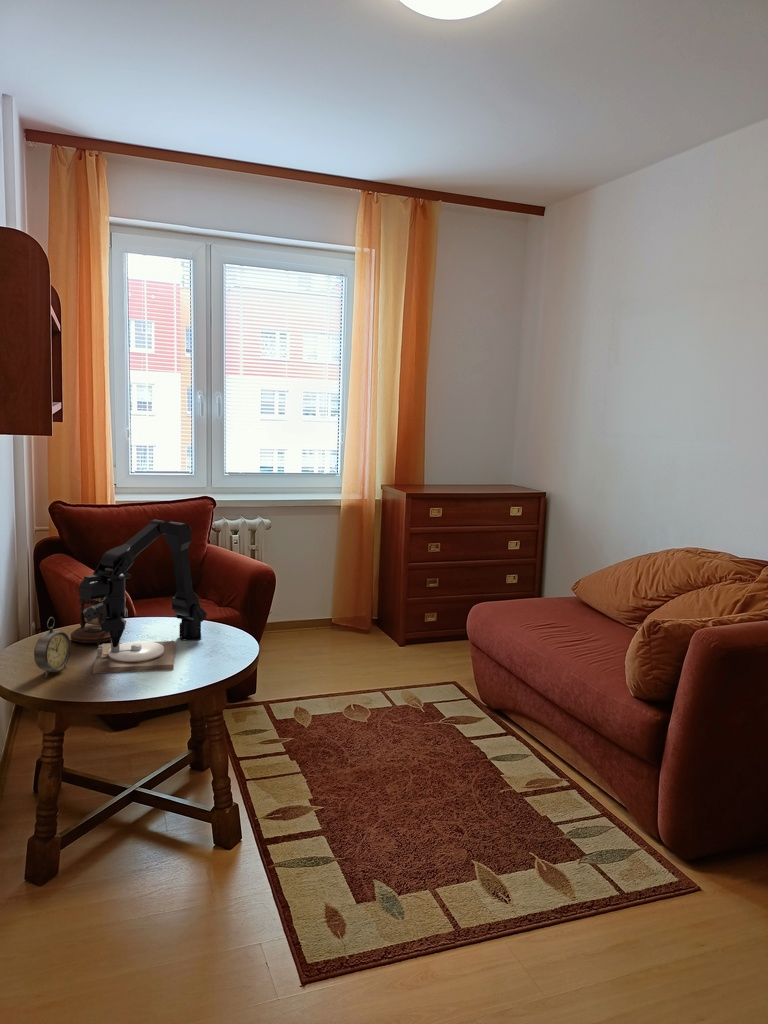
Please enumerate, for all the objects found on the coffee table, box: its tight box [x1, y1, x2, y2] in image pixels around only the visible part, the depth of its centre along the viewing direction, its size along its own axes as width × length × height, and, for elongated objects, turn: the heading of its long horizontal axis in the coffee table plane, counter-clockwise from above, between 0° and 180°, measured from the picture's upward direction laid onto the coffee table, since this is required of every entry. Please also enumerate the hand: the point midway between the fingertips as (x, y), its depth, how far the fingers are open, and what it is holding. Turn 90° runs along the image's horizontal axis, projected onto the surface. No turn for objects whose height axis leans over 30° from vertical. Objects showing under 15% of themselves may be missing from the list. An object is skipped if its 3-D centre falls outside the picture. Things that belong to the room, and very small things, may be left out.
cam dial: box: [103, 640, 164, 662], centre depth 217 cm, size 18×16×6 cm
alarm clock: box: [33, 616, 72, 679], centre depth 202 cm, size 11×5×16 cm, turn 168°
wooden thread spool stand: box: [70, 579, 111, 647], centre depth 232 cm, size 15×15×20 cm
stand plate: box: [92, 640, 176, 674], centre depth 217 cm, size 22×22×4 cm
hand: (115, 646), depth 212 cm, fingers closed
